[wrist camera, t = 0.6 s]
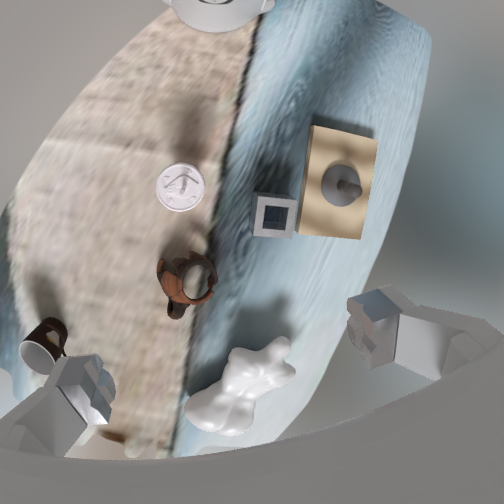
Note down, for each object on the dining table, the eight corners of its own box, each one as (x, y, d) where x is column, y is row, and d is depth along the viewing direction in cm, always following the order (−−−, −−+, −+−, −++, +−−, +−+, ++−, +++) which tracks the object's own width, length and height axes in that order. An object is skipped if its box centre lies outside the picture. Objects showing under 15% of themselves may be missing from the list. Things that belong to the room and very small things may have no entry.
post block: (310, 125, 46) (329, 123, 38) (372, 140, 48) (397, 141, 40) (294, 230, 51) (309, 245, 44) (355, 236, 54) (376, 251, 46)
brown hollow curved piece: (158, 241, 49) (178, 250, 43) (204, 250, 55) (229, 259, 49) (145, 308, 50) (163, 327, 44) (190, 311, 56) (213, 328, 50)
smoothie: (208, 194, 47) (209, 215, 34) (169, 202, 47) (155, 225, 34) (201, 155, 45) (200, 160, 32) (161, 163, 44) (144, 171, 31)
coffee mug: (32, 315, 49) (11, 341, 40) (61, 310, 50) (42, 339, 41) (55, 358, 54) (39, 387, 44) (84, 355, 54) (70, 387, 45)
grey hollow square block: (253, 191, 48) (258, 196, 43) (288, 194, 49) (297, 200, 44) (248, 226, 50) (253, 235, 45) (283, 229, 51) (291, 238, 46)
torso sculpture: (238, 411, 69) (312, 335, 59) (241, 446, 59) (326, 372, 49) (180, 394, 64) (246, 306, 54) (177, 430, 54) (251, 346, 45)
